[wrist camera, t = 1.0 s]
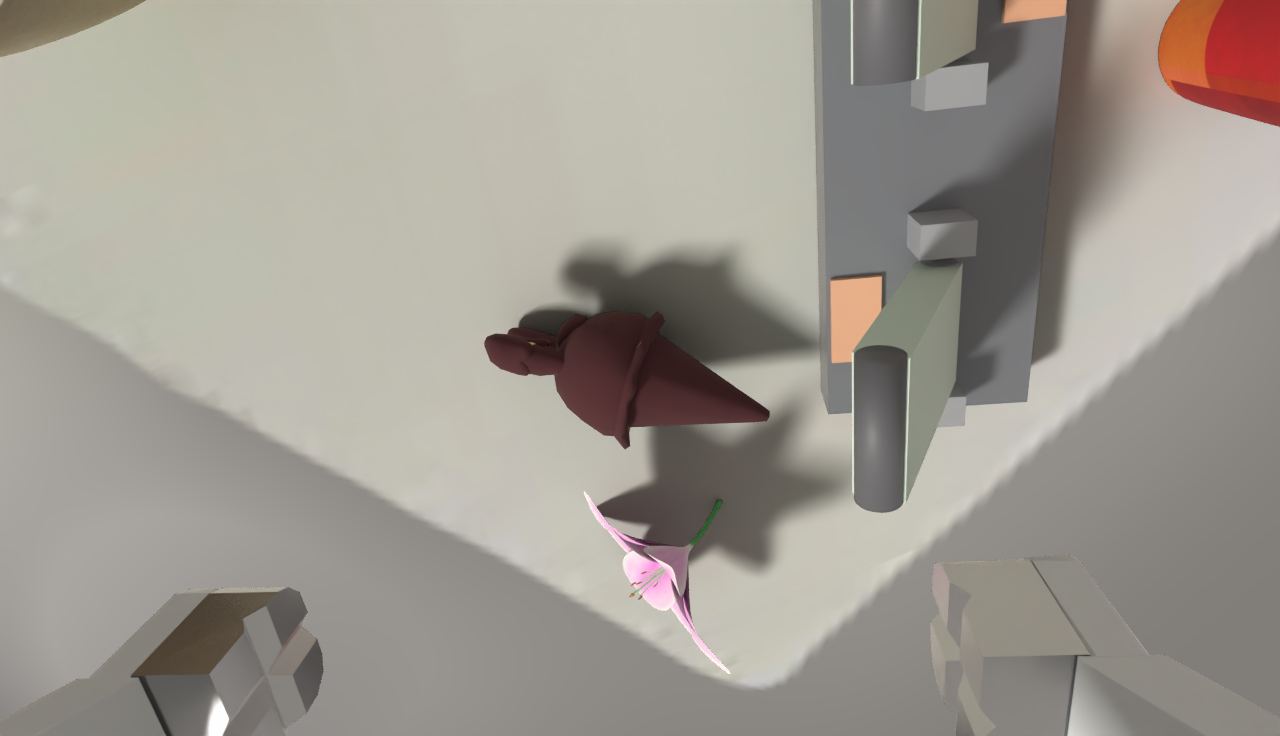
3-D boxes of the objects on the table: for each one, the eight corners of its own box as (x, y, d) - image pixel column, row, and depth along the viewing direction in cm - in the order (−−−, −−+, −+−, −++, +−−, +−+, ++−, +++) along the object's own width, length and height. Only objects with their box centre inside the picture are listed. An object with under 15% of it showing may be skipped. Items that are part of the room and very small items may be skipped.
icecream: (797, 359, 35) (492, 272, 36) (751, 504, 36) (458, 417, 37) (785, 340, 41) (529, 268, 42) (747, 463, 43) (499, 390, 44)
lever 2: (920, 255, 36) (844, 362, 26) (965, 257, 35) (904, 368, 25) (916, 369, 38) (845, 506, 28) (958, 373, 37) (900, 517, 27)
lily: (604, 409, 45) (516, 532, 39) (792, 462, 40) (725, 612, 34) (631, 526, 53) (561, 644, 47) (790, 583, 48) (735, 721, 42)
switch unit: (809, -147, 32) (826, -177, 27) (1058, -186, 30) (1122, -225, 26) (821, 390, 42) (835, 436, 37) (1007, 378, 41) (1045, 424, 36)
